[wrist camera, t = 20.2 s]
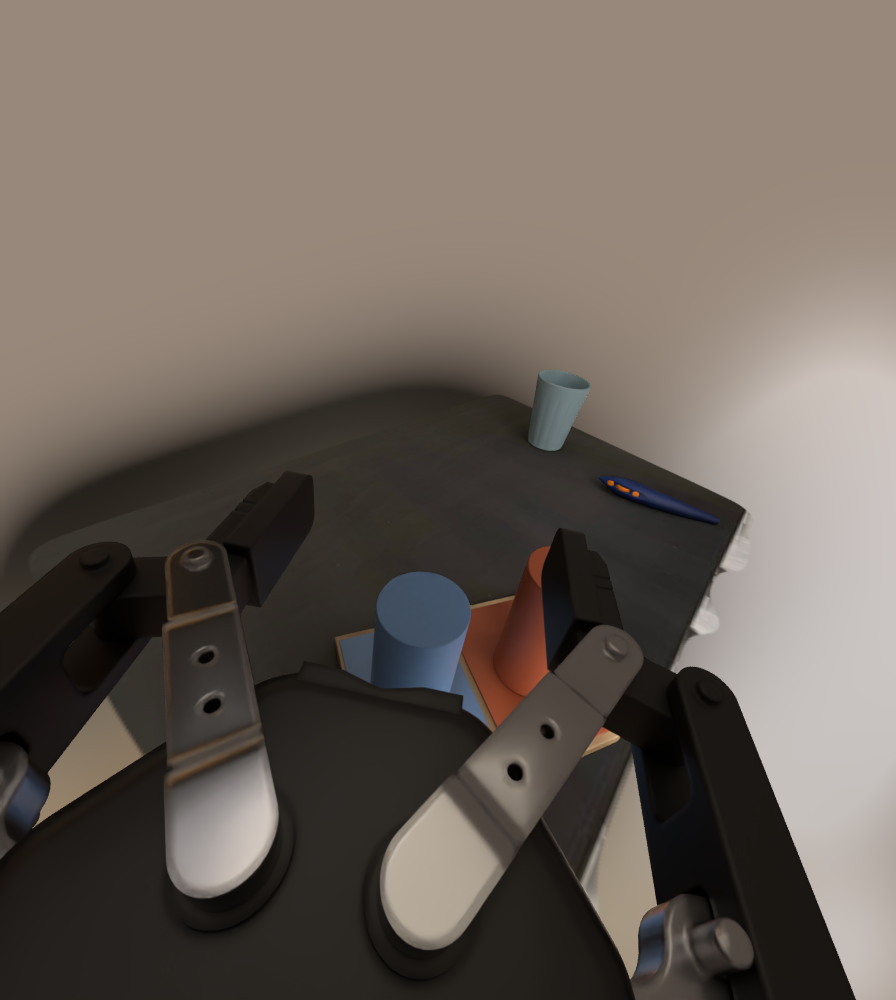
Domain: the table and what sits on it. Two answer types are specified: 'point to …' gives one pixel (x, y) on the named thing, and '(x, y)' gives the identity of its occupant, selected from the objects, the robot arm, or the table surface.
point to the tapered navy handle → (655, 499)
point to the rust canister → (524, 632)
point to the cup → (555, 408)
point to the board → (464, 667)
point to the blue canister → (419, 632)
